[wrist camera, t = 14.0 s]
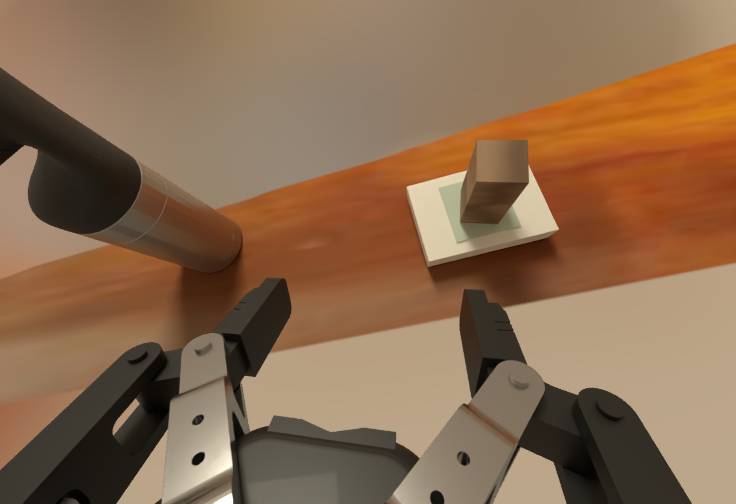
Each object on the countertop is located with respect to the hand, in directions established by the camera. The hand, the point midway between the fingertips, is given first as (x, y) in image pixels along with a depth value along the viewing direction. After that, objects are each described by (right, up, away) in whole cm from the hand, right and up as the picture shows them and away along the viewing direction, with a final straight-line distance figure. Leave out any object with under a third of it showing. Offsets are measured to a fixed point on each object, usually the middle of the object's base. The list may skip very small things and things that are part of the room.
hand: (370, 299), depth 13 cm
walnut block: (+14, +8, +24) cm, 29 cm away
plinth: (+15, +7, +27) cm, 31 cm away
